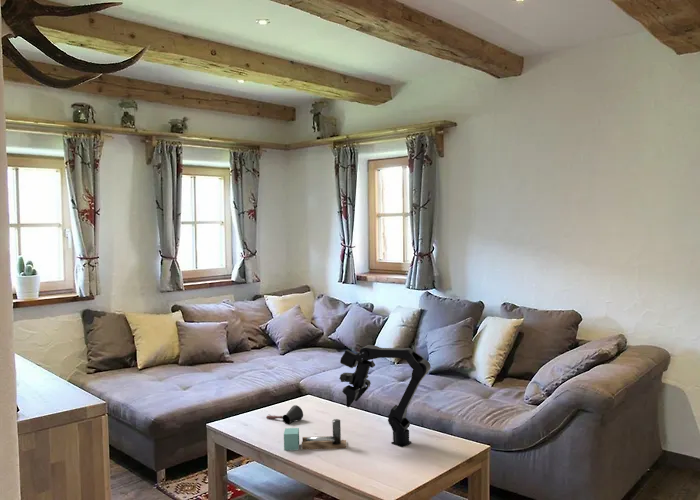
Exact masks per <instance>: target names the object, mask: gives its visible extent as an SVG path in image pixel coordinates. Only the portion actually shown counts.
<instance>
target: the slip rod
mask: <svg viewBox="0 0 700 500" xmlns="http://www.w3.org/2000/svg"><path fill="white" fill-rule="evenodd" d="M331 423H332V435H330V436H329V437H322V436H306V437H307V441H332V443H333V444H340V443H341V440H342V437H341V436H342V434H341V431H342V430H341V429H342V428H341V420H340V419H338V418H335V419H333V420H332V421H331Z"/></svg>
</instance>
